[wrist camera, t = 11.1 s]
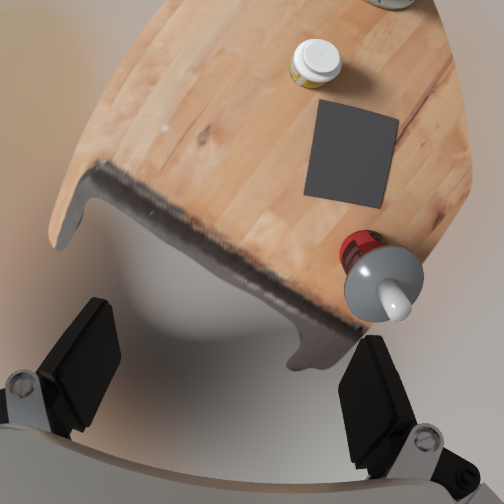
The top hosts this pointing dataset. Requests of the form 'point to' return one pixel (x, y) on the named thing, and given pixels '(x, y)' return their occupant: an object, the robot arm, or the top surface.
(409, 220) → the top surface
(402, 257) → the lid
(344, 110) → the mat
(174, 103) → the top surface
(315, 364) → the top surface
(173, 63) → the top surface
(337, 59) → the supplement bottle
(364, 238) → the canned food
